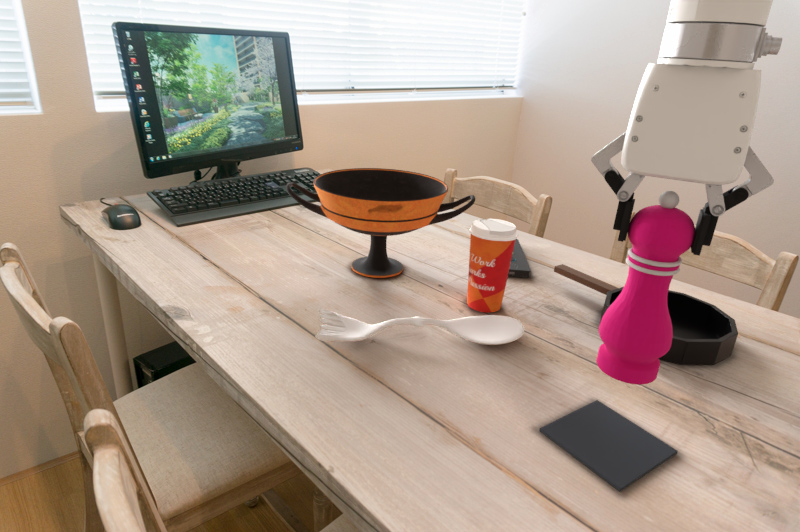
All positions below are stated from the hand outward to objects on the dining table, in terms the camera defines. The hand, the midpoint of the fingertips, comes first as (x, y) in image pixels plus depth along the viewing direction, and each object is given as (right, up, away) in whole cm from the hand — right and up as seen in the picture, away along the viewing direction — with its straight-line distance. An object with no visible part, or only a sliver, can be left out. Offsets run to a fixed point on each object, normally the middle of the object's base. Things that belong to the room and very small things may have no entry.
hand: (658, 242), depth 53 cm
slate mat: (-1, -23, +9) cm, 25 cm away
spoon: (-22, -14, +29) cm, 39 cm away
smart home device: (-3, -1, +64) cm, 64 cm away
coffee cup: (-11, -9, +41) cm, 44 cm away
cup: (-30, -3, +54) cm, 62 cm away
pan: (+14, -11, +41) cm, 45 cm away
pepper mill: (-1, -14, +6) cm, 15 cm away
